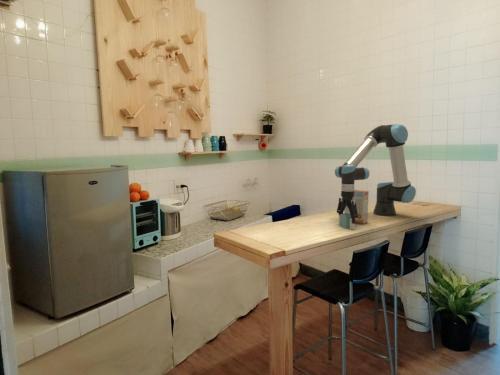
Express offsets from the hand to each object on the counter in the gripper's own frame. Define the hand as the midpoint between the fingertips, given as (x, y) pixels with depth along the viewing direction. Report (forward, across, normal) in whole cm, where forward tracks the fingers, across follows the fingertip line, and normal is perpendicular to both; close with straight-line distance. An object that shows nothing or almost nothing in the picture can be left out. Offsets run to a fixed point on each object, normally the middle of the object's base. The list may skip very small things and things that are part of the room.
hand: (346, 226), depth 205 cm
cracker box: (+1, -9, +14) cm, 17 cm away
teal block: (0, 0, 0) cm, 0 cm away
